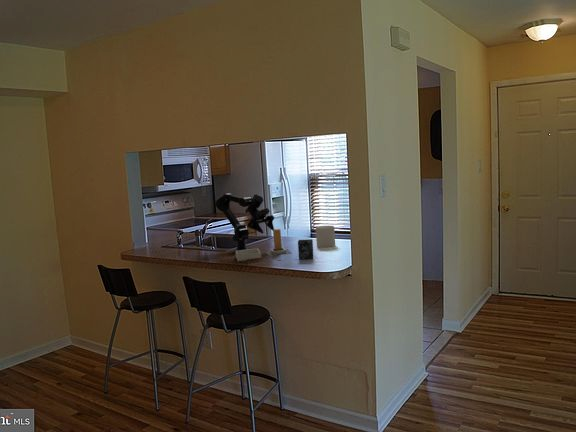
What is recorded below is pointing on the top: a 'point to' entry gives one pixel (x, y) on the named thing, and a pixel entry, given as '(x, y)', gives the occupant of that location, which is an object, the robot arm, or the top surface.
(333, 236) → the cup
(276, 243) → the strut
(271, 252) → the socket mount
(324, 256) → the top surface
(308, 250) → the box
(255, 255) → the bin
